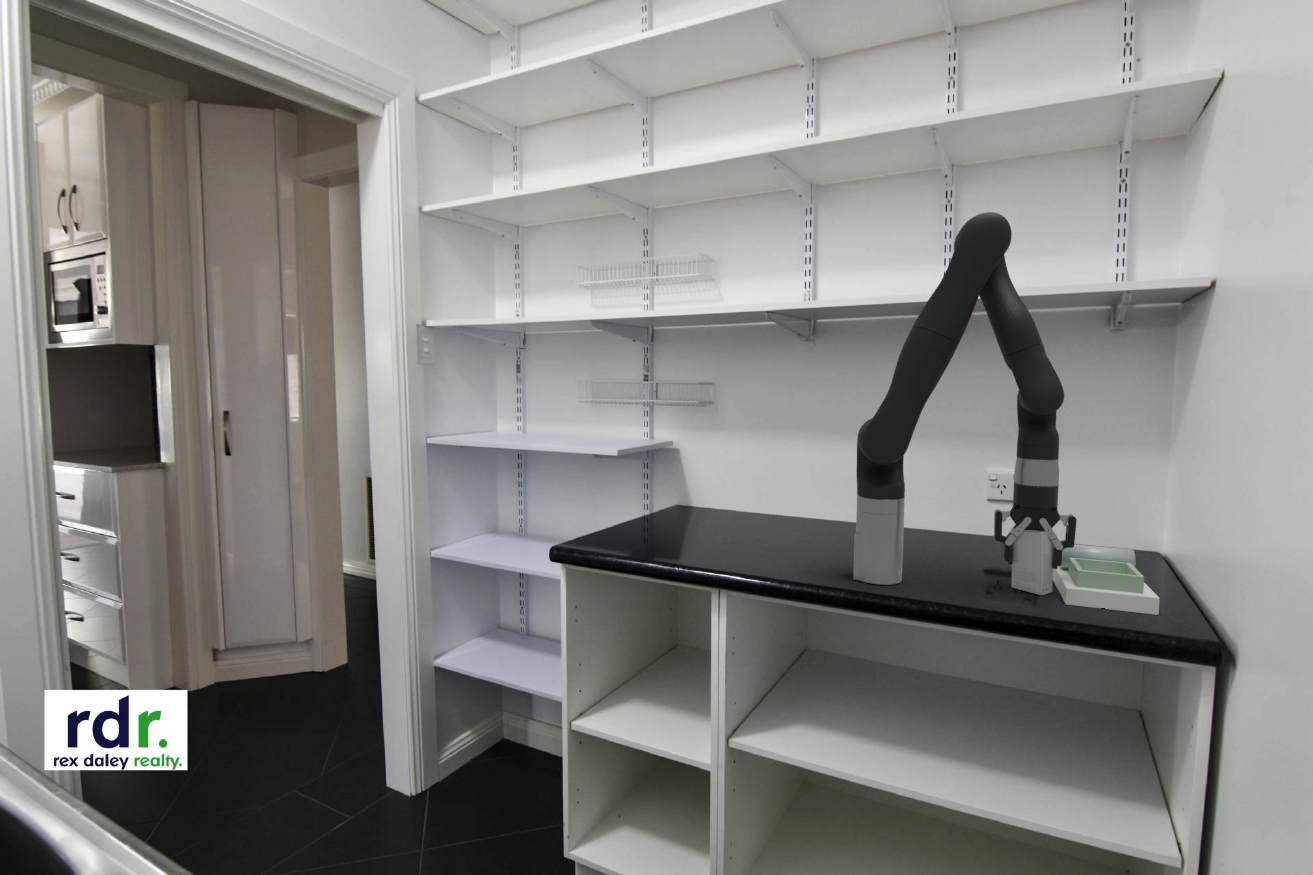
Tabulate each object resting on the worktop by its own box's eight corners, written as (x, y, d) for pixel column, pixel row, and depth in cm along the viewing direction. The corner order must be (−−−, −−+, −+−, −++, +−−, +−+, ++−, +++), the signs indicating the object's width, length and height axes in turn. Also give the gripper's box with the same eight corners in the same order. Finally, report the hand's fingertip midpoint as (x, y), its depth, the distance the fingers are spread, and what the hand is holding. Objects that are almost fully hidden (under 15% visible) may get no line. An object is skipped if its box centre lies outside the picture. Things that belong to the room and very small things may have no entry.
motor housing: (1065, 604, 124) (1068, 561, 123) (1051, 577, 140) (1053, 539, 140) (1158, 614, 118) (1161, 570, 118) (1132, 586, 135) (1135, 546, 134)
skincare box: (1053, 592, 131) (1056, 530, 130) (1039, 596, 128) (1042, 533, 127) (1022, 584, 136) (1025, 524, 135) (1008, 587, 134) (1011, 527, 133)
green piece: (1077, 586, 125) (1078, 570, 124) (1068, 572, 134) (1069, 557, 134) (1143, 593, 121) (1144, 577, 120) (1129, 578, 130) (1130, 562, 130)
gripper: (995, 482, 130) (992, 566, 131) (1083, 486, 124) (1078, 575, 126) (993, 476, 137) (989, 557, 138) (1076, 481, 131) (1071, 564, 132)
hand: (1031, 565), depth 132 cm, fingers closed on skincare box, 7 cm apart
